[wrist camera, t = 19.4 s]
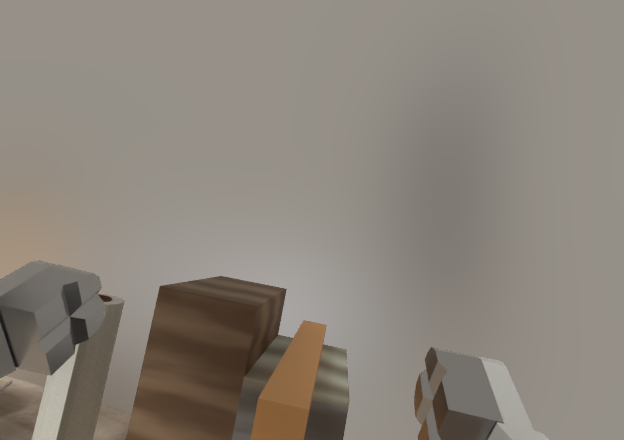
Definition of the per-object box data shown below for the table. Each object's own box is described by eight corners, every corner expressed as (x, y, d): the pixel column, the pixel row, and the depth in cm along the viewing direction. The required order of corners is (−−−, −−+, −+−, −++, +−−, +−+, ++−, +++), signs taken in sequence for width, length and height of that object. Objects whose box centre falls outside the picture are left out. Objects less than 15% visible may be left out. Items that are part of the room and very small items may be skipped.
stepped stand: (304, 667, 27) (361, 327, 29) (90, 601, 28) (159, 286, 31) (318, 514, 43) (354, 302, 45) (179, 478, 44) (221, 276, 47)
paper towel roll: (57, 459, 44) (97, 290, 46) (96, 474, 42) (135, 299, 44) (-6, 495, 37) (44, 294, 39) (38, 516, 35) (88, 306, 37)
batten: (300, 454, 20) (308, 409, 20) (249, 442, 20) (258, 397, 20) (322, 344, 45) (326, 325, 45) (300, 339, 45) (303, 320, 45)
